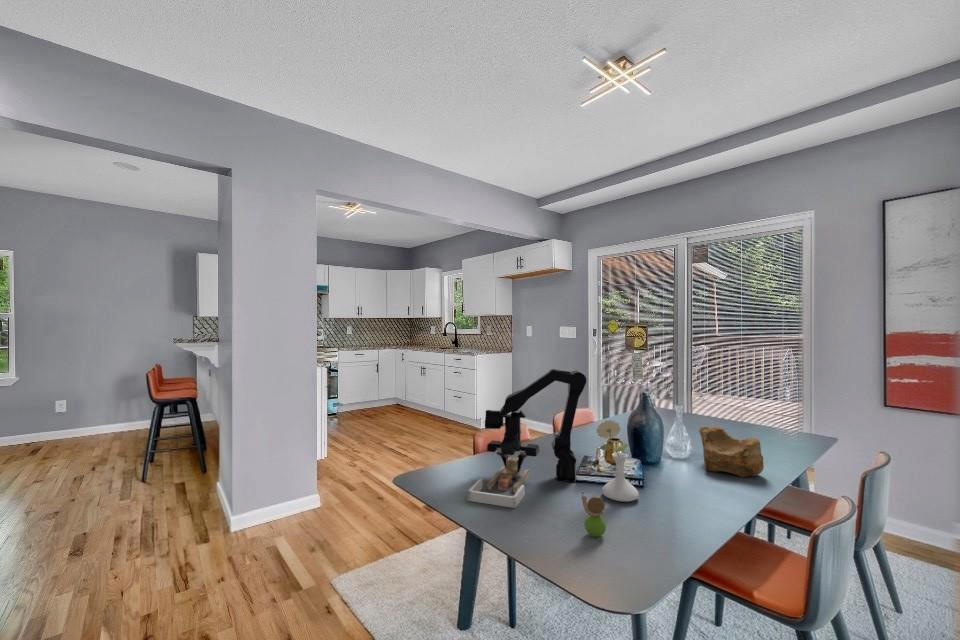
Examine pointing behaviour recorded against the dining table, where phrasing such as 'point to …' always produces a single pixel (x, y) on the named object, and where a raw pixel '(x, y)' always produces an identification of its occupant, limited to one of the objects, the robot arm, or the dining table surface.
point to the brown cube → (508, 478)
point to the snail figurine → (594, 516)
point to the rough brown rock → (730, 453)
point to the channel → (499, 475)
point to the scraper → (512, 468)
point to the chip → (503, 484)
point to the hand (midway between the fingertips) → (513, 471)
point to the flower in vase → (619, 485)
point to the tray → (494, 496)
